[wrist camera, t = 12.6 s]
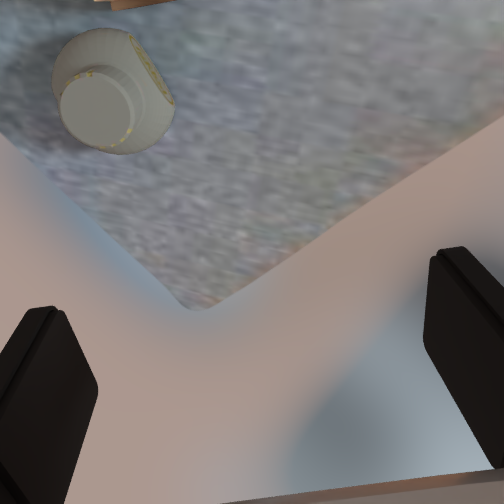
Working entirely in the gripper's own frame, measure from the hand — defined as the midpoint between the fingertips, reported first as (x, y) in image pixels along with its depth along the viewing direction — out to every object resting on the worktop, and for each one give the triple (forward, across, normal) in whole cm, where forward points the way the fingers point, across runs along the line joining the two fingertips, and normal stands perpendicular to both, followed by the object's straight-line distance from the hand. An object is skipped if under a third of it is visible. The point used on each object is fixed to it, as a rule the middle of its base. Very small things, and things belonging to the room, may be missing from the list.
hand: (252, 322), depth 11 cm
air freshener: (+37, +11, -1) cm, 38 cm away
